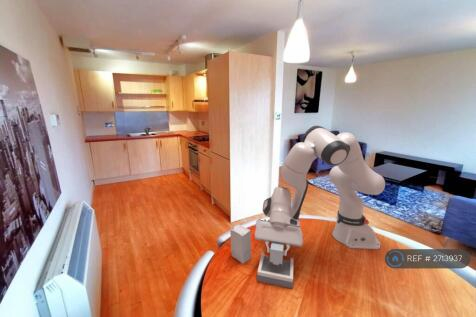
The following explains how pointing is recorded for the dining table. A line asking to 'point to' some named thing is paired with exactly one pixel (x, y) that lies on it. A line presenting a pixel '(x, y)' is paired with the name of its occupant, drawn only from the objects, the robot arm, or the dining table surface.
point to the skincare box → (241, 243)
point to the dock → (275, 272)
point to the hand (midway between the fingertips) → (276, 254)
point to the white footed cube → (276, 253)
